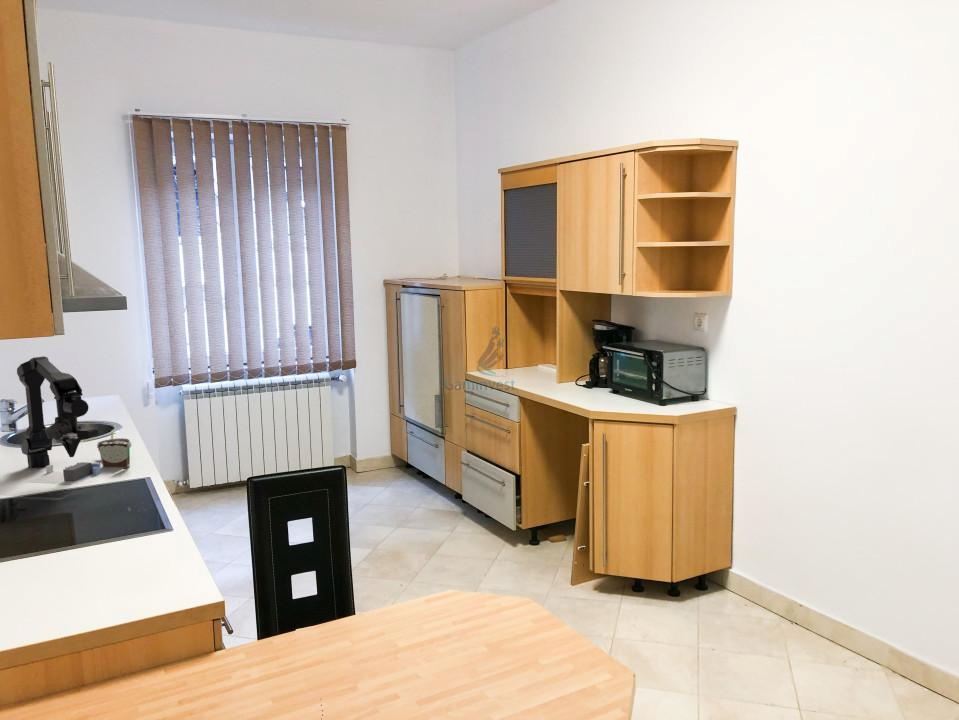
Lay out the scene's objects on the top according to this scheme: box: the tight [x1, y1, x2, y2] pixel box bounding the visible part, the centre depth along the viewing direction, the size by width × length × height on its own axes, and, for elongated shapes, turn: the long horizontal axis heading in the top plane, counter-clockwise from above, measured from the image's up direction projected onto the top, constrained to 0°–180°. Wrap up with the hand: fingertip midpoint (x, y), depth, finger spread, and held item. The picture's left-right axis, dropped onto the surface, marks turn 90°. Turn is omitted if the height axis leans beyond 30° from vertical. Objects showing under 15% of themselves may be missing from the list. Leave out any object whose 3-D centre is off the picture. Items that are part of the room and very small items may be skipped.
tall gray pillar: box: [62, 461, 92, 481], centre depth 269 cm, size 4×9×4 cm, turn 169°
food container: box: [96, 437, 132, 470], centre depth 284 cm, size 12×6×10 cm, turn 84°
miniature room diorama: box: [26, 462, 102, 485], centre depth 270 cm, size 20×13×4 cm, turn 79°
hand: (71, 457), depth 266 cm, fingers closed
